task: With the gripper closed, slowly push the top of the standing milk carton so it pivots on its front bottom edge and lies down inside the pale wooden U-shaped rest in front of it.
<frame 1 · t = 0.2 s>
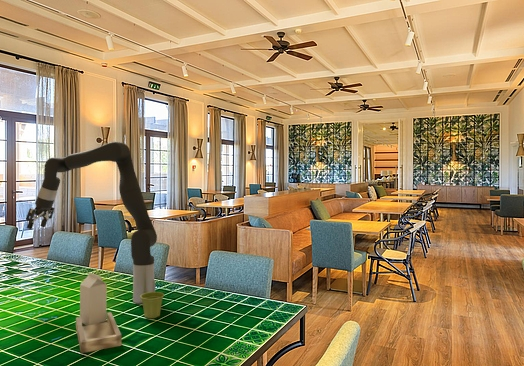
hand: (36, 227, 188), 31 cm above the table, tool tilted 20°, fingers open, 8 cm apart
milk carton: (93, 322, 153), on the table
u rest: (97, 335, 140), on the table
plant pot: (152, 316, 160), on the table
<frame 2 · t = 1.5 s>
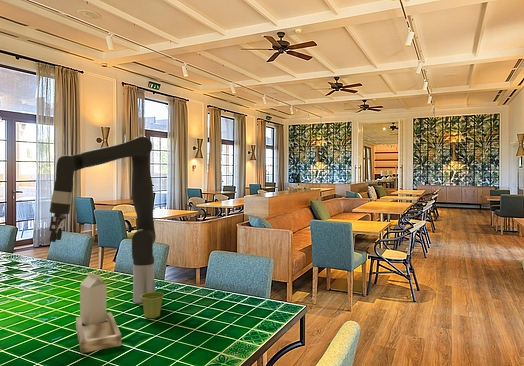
hand: (55, 240, 162), 30 cm above the table, tool pointing down, fingers open, 8 cm apart
nothing on the table moved.
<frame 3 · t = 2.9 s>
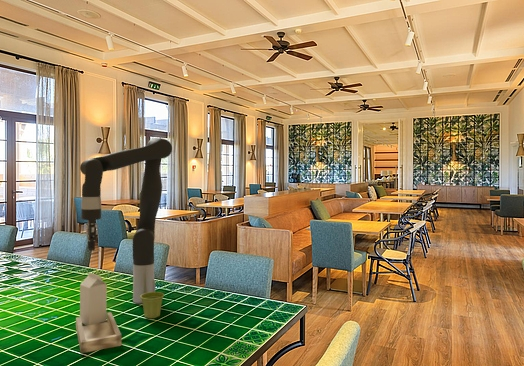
hand: (91, 249, 160), 27 cm above the table, tool pointing down, fingers open, 3 cm apart
nothing on the table moved.
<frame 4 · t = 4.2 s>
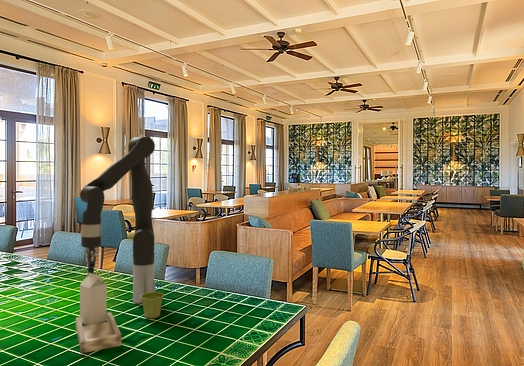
hand: (90, 276, 160), 16 cm above the table, tool pointing down, fingers closed
nothing on the table moved.
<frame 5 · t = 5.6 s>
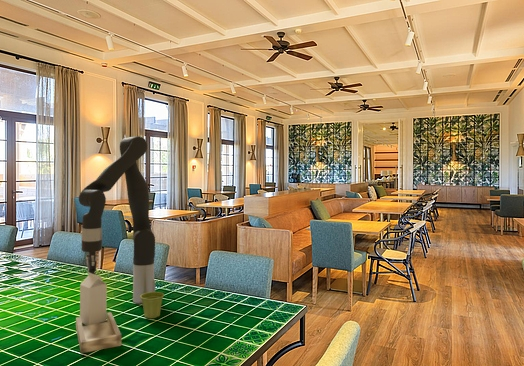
hand: (91, 281, 157), 15 cm above the table, tool pointing down, fingers closed
milk carton: (93, 322, 153), on the table, touching gripper
everything else where it was.
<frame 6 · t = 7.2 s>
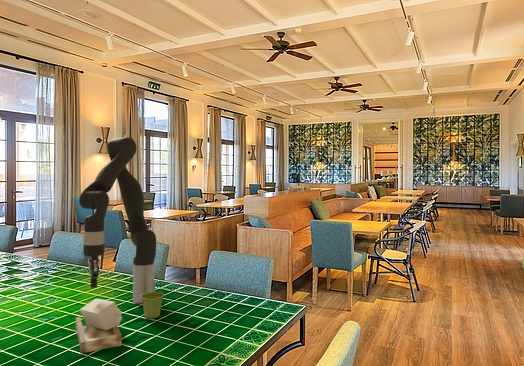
hand: (93, 287, 149), 15 cm above the table, tool pointing down, fingers closed
milk carton: (91, 311, 150), point 5 cm above the table, touching u rest
everything else where it was.
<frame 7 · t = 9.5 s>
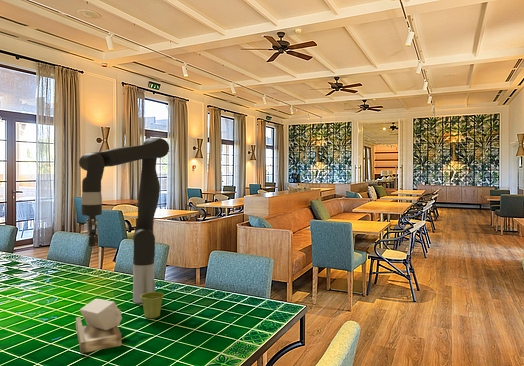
hand: (91, 246, 156), 29 cm above the table, tool pointing down, fingers closed
nothing on the table moved.
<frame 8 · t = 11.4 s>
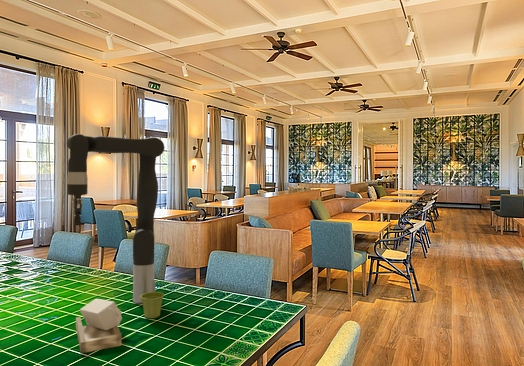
hand: (77, 225, 160), 37 cm above the table, tool pointing down, fingers closed
nothing on the table moved.
at the end: milk carton tilted 82°; milk carton inside the target area on the u rest (6.1 cm from its centre), point 4.9 cm above the u rest's base; milk carton touching u rest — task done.
